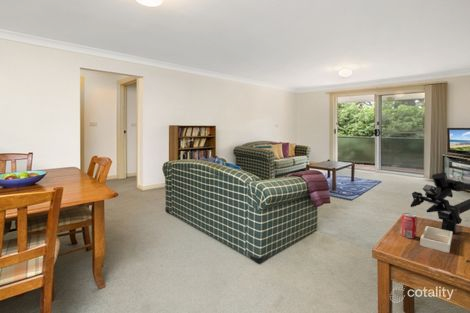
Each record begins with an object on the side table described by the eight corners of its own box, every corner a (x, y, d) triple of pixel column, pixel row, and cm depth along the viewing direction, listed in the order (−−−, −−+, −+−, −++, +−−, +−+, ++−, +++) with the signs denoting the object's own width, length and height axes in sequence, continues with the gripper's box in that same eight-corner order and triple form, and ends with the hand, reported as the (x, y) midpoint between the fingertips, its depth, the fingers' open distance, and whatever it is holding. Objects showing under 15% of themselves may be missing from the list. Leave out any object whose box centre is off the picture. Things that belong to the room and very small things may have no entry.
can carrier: (425, 232, 141) (426, 226, 141) (451, 238, 134) (452, 231, 133) (419, 245, 126) (420, 237, 125) (449, 253, 118) (449, 244, 118)
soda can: (411, 234, 140) (412, 212, 138) (419, 239, 133) (421, 217, 131) (397, 233, 140) (399, 212, 139) (404, 238, 133) (406, 216, 132)
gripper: (419, 178, 146) (398, 192, 144) (454, 185, 128) (431, 201, 125) (425, 194, 148) (405, 208, 146) (460, 203, 130) (437, 219, 128)
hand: (418, 208), depth 136 cm, fingers open, 9 cm apart
